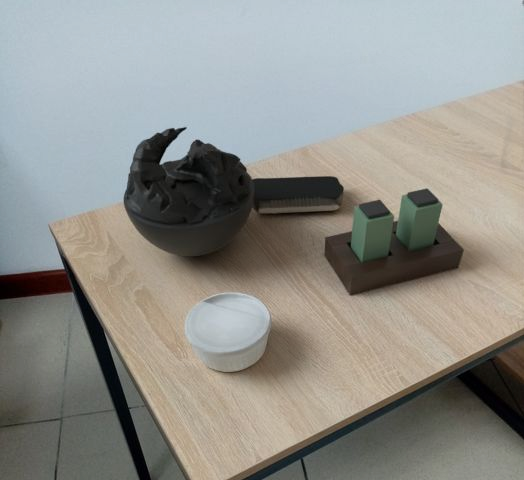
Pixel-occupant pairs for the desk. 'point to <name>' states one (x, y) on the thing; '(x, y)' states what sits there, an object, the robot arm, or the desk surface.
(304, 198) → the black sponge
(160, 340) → the desk surface
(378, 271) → the socket block
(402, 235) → the green capped post
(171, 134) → the dark sculpted bowl
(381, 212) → the green square peg
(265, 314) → the ramekin
